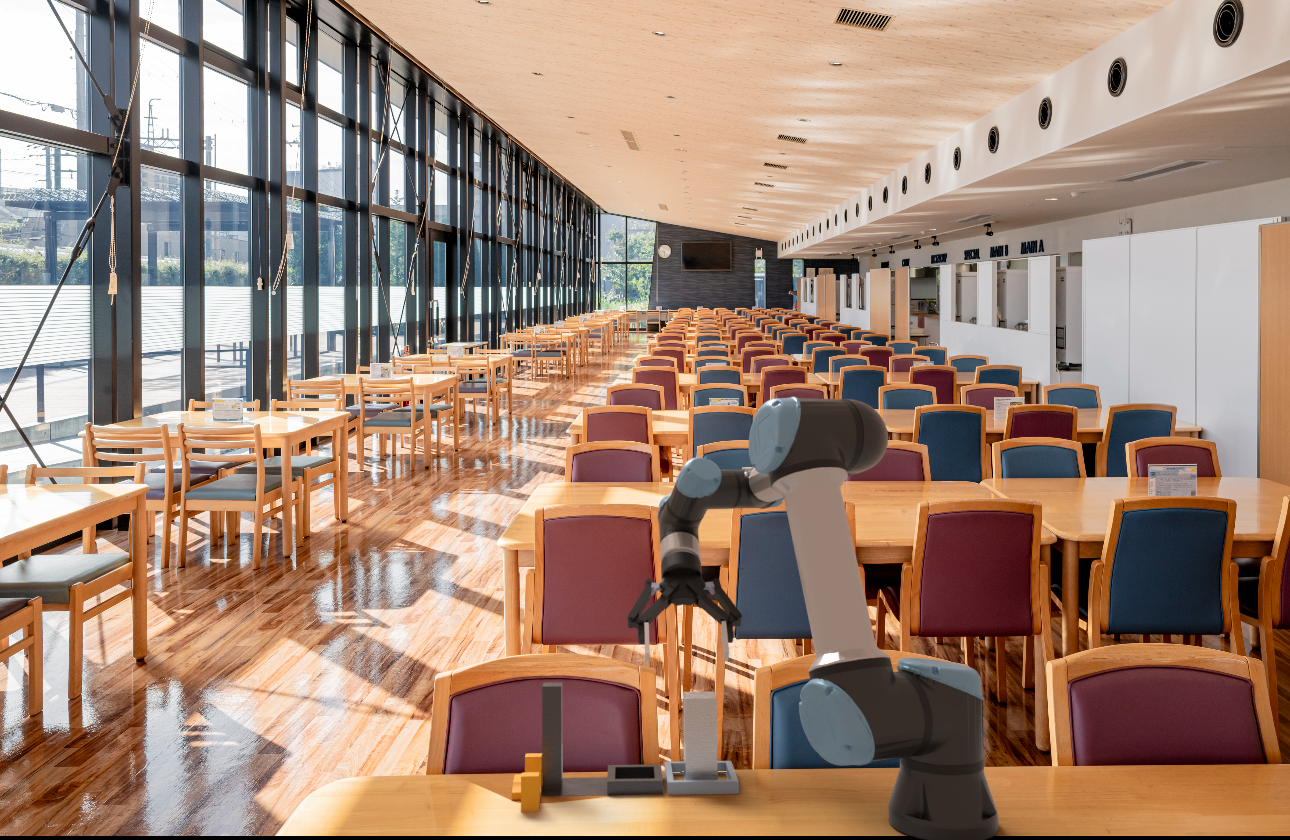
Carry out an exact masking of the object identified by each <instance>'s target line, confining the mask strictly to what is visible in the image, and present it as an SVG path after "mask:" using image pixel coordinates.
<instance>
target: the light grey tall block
mask: <svg viewBox="0 0 1290 840" xmlns="http://www.w3.org/2000/svg"><path fill="white" fill-rule="evenodd" d="M682 692H683V693H682V694H683V695H682V698H683V699H682V700H683V701H682V702H683V704H682V705H683V706H682V707H683V710H682V711H683V712H682V713H683V714H682V715H683V761H684V775H683V780H719V779H718V775H719V774H718V770H717V761H718V698H717V695H716V693H715V691H682Z"/></svg>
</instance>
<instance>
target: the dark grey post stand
mask: <svg viewBox="0 0 1290 840" xmlns="http://www.w3.org/2000/svg"><path fill="white" fill-rule="evenodd" d="M541 700H542V702H541V705H542V706H541V707H542V709H541V710H542V711H541V714H542V715H541V717H542V718H541V723H542V724H541V725H542V726H541V727H542V728H541V729H542V731H541V735H542V736H541V737H542V739H541V743H542V744H541V746H542V748H541V749H542V750H541V753H542V791H541V797H587V796H588V797H589V796H590V797H593V796H595V797H596V796H602V797H603V796H652V795H653V796H655V795H656V796H657V795H658V796H660V795H665V789H664V788H665V787H664V778H663V771H662V770H663V769H662V764H656V763H655V764H608V765H607V776H606V777H604V776H603V777H600V776H599V777H598V776H596V777H592V776H591V777H563V776H564V772H563V771H564V769H563V767H564V765H563V763H564V762H563V759H564V755H563V753H564V752H563V750H564V747H563V745H564V744H563V743H564V742H563V737H564V736H563V734H564V733H563V721H564V720H563V718H564V717H563V716H564V715H563V682H562V681H560V682H556V681H555V682H551V681H549V682H543V684H542V685H541Z"/></svg>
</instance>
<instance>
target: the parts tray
mask: <svg viewBox="0 0 1290 840" xmlns="http://www.w3.org/2000/svg"><path fill="white" fill-rule="evenodd" d="M717 770H718V771H727V772H718V773H726V774H725V776H726V779H718V780H684V779H677V780H676V779H674V775H675V776H676V775H677V776H681V775H682V776H684V772H682V771H684V760H683V761H664V778H665V779H664V780H665V786H666V791H667V795H669V796H670V795H723V794H725V795H727V794H728V795H730V794H736V795H738V794H740V785H739V784H740V783H739V782H740V781H739V777H738V776H737V774H736V771H733V770H735V767H734V765H733V763H732V760H717ZM673 772H680V773H673Z"/></svg>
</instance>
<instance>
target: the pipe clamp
mask: <svg viewBox="0 0 1290 840" xmlns="http://www.w3.org/2000/svg"><path fill="white" fill-rule="evenodd" d="M541 793H542V752H541V753H535V752H532V753H525V756H524V772H521V773H520V774H517V773H516V774H514V777H513V780H512V789H511V800H520V812H521V813H522V812H523V813H524V812H525V813H526V812H527V813H529V812H539V811H540V803H541V797H542V796H541Z"/></svg>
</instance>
